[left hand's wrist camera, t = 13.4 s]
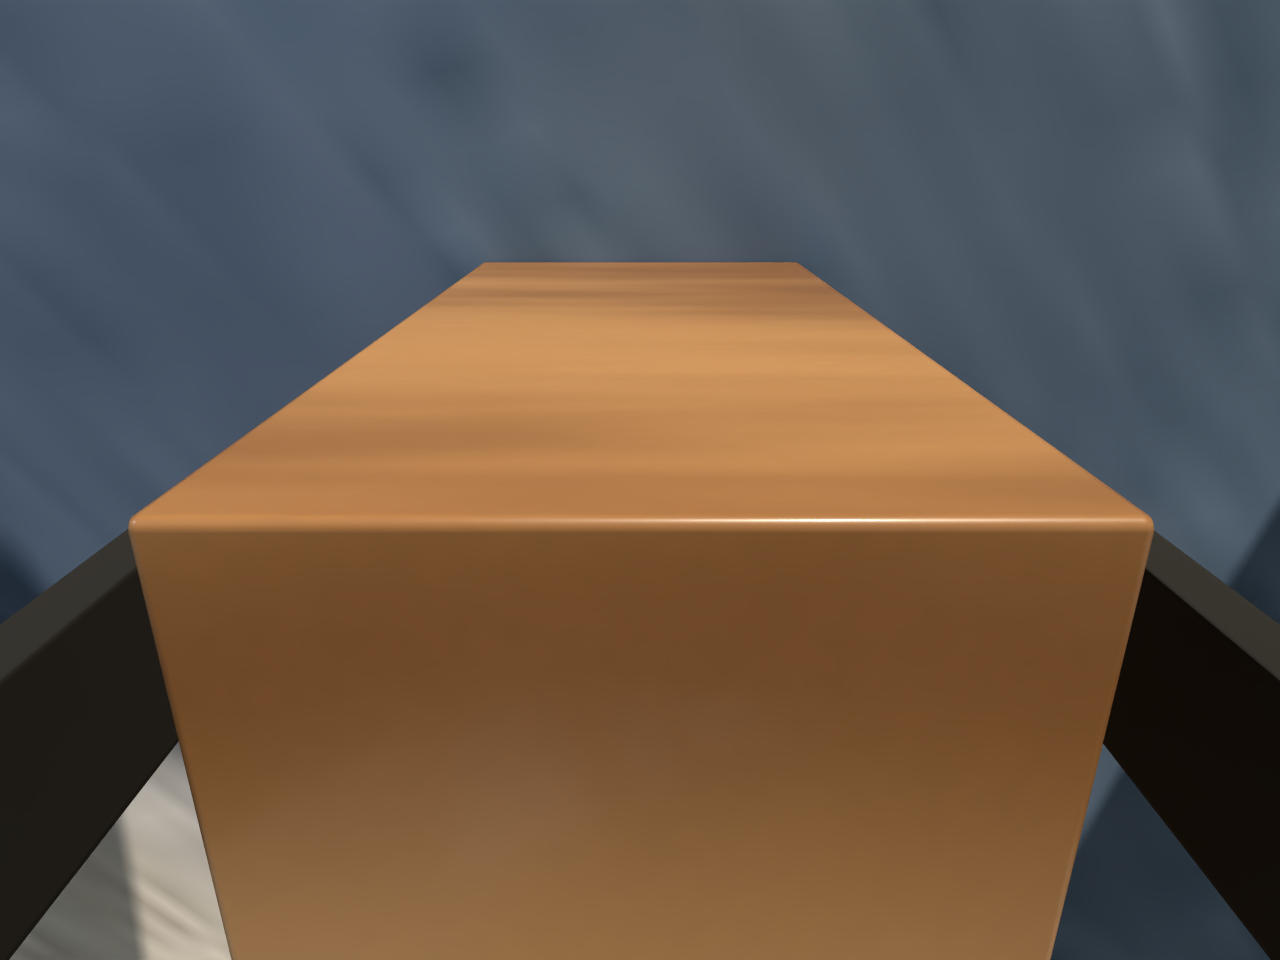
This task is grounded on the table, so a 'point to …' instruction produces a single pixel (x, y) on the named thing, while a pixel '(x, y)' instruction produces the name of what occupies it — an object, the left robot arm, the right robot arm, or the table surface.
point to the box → (641, 637)
